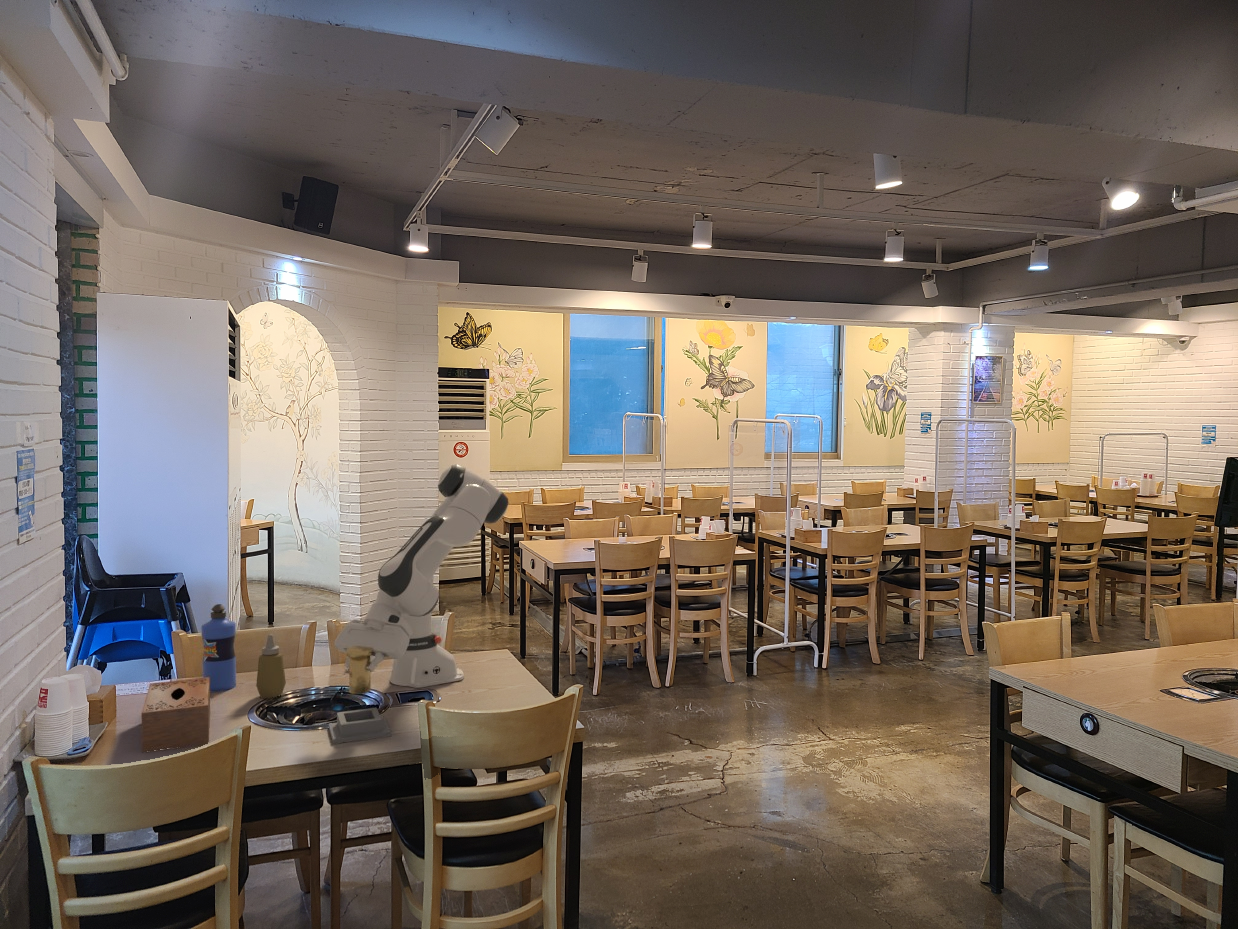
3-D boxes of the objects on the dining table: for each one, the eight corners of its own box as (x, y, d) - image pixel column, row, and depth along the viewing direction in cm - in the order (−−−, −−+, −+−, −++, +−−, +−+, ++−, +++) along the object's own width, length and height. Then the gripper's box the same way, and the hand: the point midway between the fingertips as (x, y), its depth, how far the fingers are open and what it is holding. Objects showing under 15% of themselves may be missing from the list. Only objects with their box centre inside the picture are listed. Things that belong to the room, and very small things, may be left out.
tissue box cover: (150, 720, 228) (150, 683, 227) (210, 712, 234) (209, 677, 233) (142, 754, 204) (141, 713, 204) (208, 744, 210) (208, 705, 210)
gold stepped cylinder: (371, 685, 223) (370, 644, 222) (374, 692, 217) (374, 650, 216) (345, 688, 220) (345, 646, 219) (348, 696, 214) (348, 653, 214)
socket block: (383, 721, 227) (383, 705, 227) (390, 736, 216) (390, 719, 216) (328, 728, 222) (328, 712, 221) (333, 744, 211) (333, 727, 210)
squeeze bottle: (275, 701, 243) (274, 639, 242) (250, 699, 244) (249, 637, 243) (291, 692, 251) (291, 632, 250) (267, 690, 252) (266, 631, 251)
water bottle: (220, 680, 262) (219, 600, 260) (243, 684, 258) (242, 603, 257) (195, 689, 253) (193, 606, 252) (218, 693, 249) (217, 609, 248)
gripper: (344, 612, 228) (319, 658, 219) (408, 619, 220) (385, 666, 212) (354, 625, 232) (331, 670, 223) (418, 632, 225) (396, 678, 216)
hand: (358, 668), depth 218 cm, fingers closed on gold stepped cylinder, 5 cm apart
